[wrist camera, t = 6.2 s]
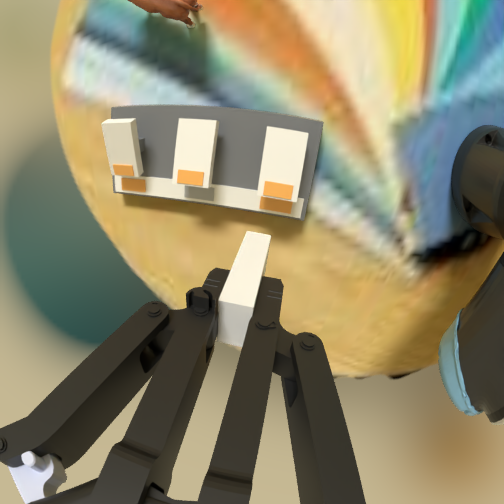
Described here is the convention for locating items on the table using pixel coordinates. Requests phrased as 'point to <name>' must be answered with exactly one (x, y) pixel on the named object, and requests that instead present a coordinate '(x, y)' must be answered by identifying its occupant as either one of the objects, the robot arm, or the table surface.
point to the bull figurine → (171, 8)
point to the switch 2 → (282, 163)
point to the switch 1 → (123, 147)
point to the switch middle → (195, 152)
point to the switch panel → (216, 157)
